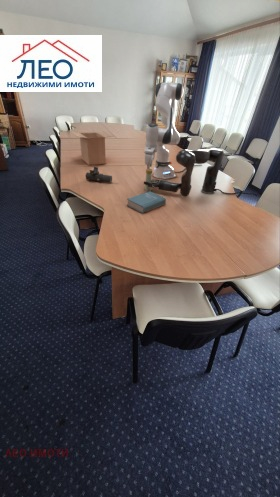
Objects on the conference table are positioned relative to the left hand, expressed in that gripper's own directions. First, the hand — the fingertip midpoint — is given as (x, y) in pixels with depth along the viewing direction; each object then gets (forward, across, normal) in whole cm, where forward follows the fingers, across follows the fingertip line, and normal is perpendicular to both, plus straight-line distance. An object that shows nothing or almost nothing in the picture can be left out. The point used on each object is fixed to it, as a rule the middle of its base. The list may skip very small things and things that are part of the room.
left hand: (149, 168), depth 170 cm
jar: (+18, 0, 0) cm, 18 cm away
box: (+17, -59, -71) cm, 93 cm away
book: (+18, +28, +5) cm, 34 cm away
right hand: (+11, -1, -3) cm, 12 cm away
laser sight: (+18, -4, -44) cm, 47 cm away
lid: (+2, 0, 0) cm, 2 cm away
